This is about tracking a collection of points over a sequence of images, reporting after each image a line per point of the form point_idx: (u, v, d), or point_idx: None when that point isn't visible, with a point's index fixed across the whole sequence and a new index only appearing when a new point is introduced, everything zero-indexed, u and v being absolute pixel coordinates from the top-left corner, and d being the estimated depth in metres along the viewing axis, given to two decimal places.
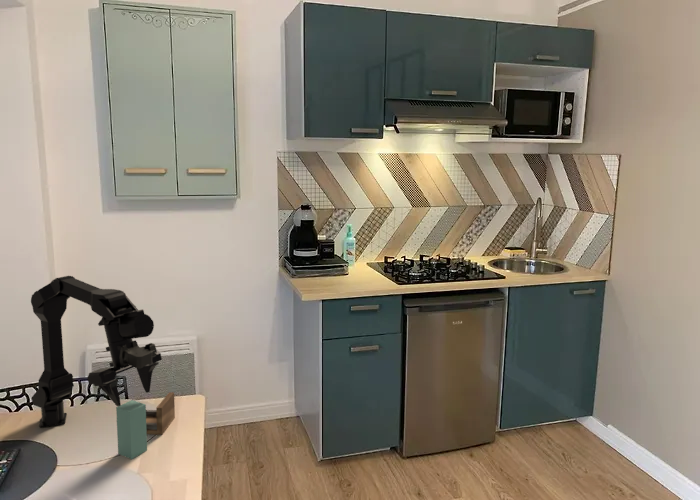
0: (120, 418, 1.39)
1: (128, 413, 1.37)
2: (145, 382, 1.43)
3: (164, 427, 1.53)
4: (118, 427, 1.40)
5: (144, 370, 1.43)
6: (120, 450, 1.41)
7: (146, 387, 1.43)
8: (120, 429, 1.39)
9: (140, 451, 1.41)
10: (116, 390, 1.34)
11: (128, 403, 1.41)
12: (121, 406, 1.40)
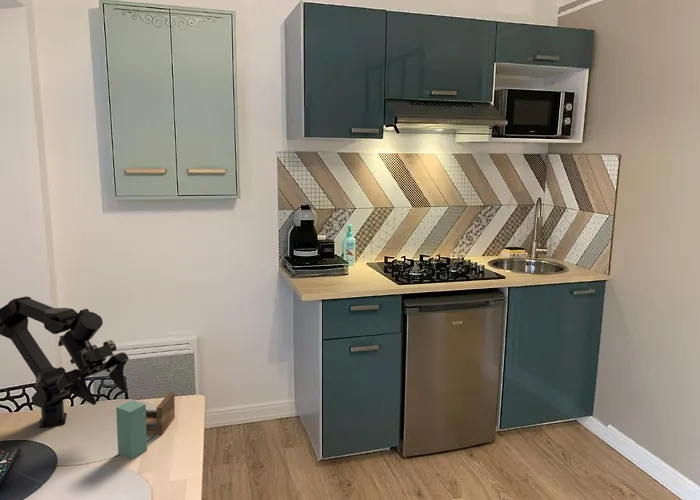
0: (120, 418, 1.39)
1: (128, 413, 1.37)
2: (119, 382, 1.48)
3: (164, 427, 1.53)
4: (118, 427, 1.40)
5: (115, 372, 1.49)
6: (120, 450, 1.41)
7: (121, 386, 1.48)
8: (120, 429, 1.39)
9: (140, 451, 1.41)
10: (87, 389, 1.39)
11: (128, 403, 1.41)
12: (121, 406, 1.40)
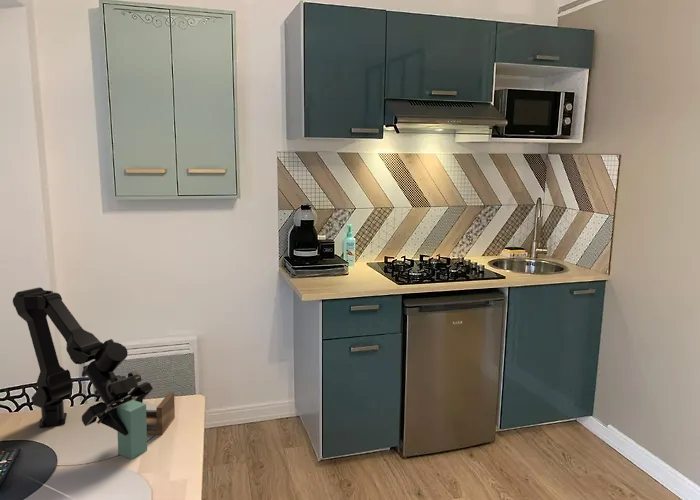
0: (120, 418, 1.39)
1: (129, 412, 1.37)
2: None
3: (164, 427, 1.53)
4: None
5: None
6: (120, 449, 1.41)
7: None
8: None
9: (140, 451, 1.41)
10: (118, 419, 1.38)
11: (128, 403, 1.41)
12: (121, 406, 1.40)
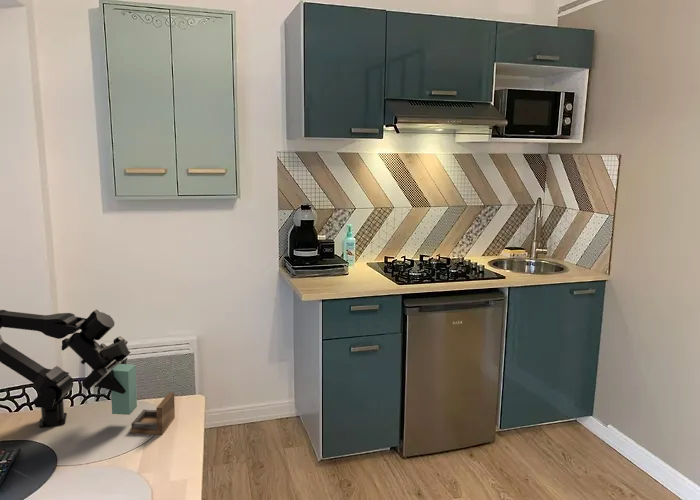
0: None
1: (126, 372, 1.51)
2: None
3: (164, 427, 1.53)
4: None
5: None
6: (114, 409, 1.53)
7: None
8: None
9: (133, 407, 1.56)
10: (116, 380, 1.51)
11: (118, 366, 1.54)
12: (114, 369, 1.52)
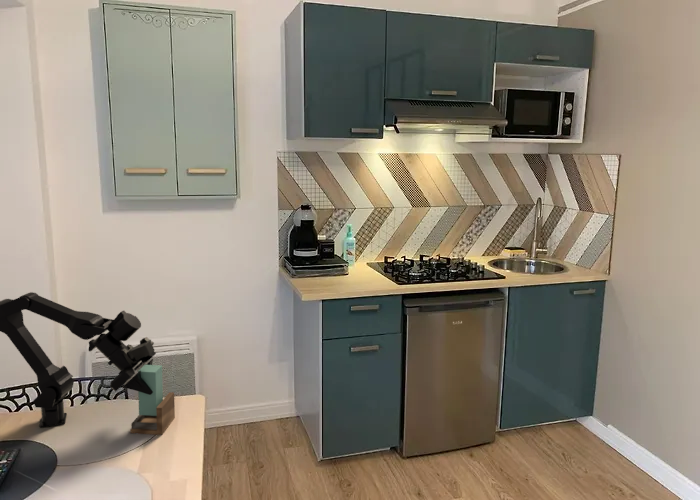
0: None
1: (153, 373, 1.51)
2: None
3: (164, 427, 1.53)
4: None
5: None
6: (141, 410, 1.53)
7: None
8: None
9: None
10: (143, 381, 1.51)
11: (145, 367, 1.54)
12: (141, 370, 1.52)
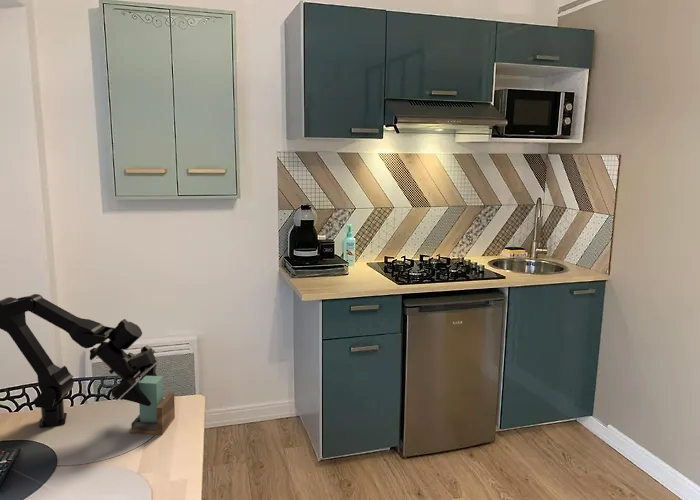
0: (143, 392, 1.52)
1: (154, 385, 1.52)
2: None
3: (164, 427, 1.53)
4: None
5: None
6: (143, 421, 1.54)
7: None
8: None
9: None
10: (141, 392, 1.49)
11: (146, 378, 1.55)
12: (142, 381, 1.53)
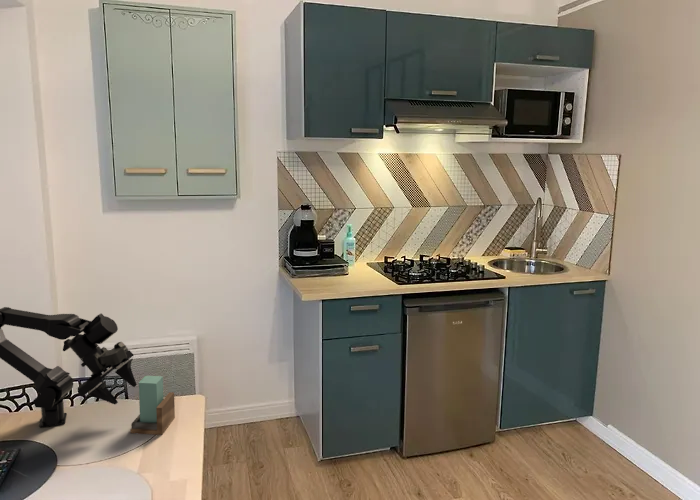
0: (143, 392, 1.52)
1: (154, 385, 1.52)
2: (129, 379, 1.59)
3: (164, 427, 1.53)
4: (141, 401, 1.52)
5: (123, 370, 1.59)
6: (143, 421, 1.54)
7: (132, 382, 1.59)
8: (144, 402, 1.53)
9: None
10: (108, 391, 1.49)
11: (146, 378, 1.55)
12: (142, 381, 1.53)
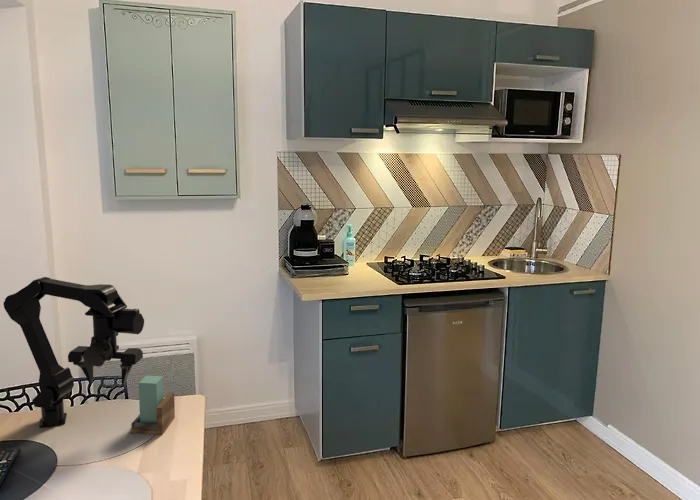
0: (143, 392, 1.52)
1: (154, 385, 1.52)
2: None
3: (164, 427, 1.53)
4: (141, 401, 1.52)
5: None
6: (143, 421, 1.54)
7: None
8: (144, 402, 1.53)
9: None
10: (86, 371, 1.50)
11: (146, 378, 1.55)
12: (142, 381, 1.53)
